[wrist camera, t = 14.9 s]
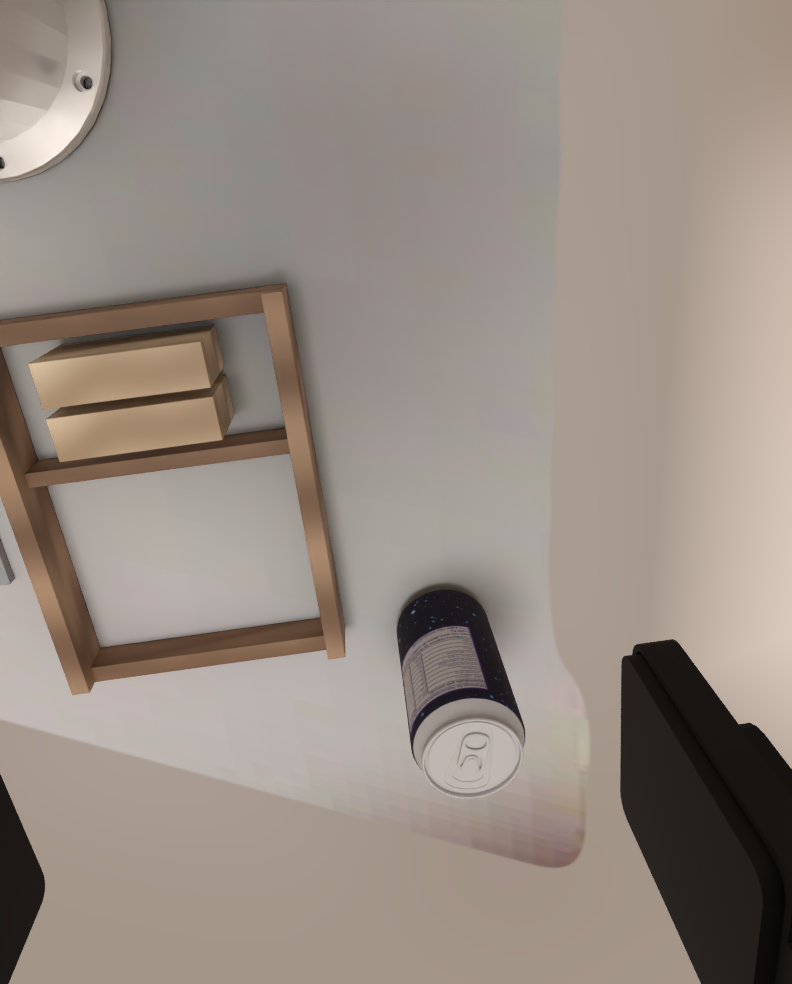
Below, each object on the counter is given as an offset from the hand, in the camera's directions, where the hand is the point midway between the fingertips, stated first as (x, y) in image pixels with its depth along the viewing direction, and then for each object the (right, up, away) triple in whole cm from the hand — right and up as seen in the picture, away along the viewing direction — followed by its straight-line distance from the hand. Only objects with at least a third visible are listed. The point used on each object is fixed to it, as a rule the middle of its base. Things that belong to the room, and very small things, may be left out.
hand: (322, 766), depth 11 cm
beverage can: (+4, -4, +35) cm, 36 cm away
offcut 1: (-12, +11, +27) cm, 32 cm away
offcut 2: (-12, +9, +29) cm, 32 cm away
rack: (-11, +4, +30) cm, 33 cm away
